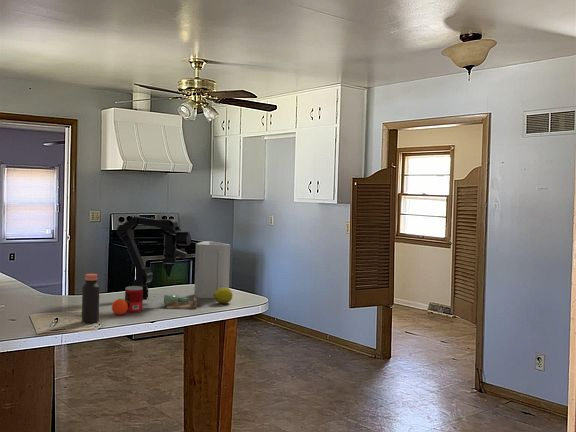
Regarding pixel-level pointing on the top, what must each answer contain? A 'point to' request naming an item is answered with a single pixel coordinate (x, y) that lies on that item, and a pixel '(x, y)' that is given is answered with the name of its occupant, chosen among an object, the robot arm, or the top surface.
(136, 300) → the canned food
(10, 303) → the top surface
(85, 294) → the vinegar
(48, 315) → the top surface
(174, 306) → the cradle
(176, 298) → the bottle
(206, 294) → the paper bag
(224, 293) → the lemon
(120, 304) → the clementine
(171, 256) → the robot arm
